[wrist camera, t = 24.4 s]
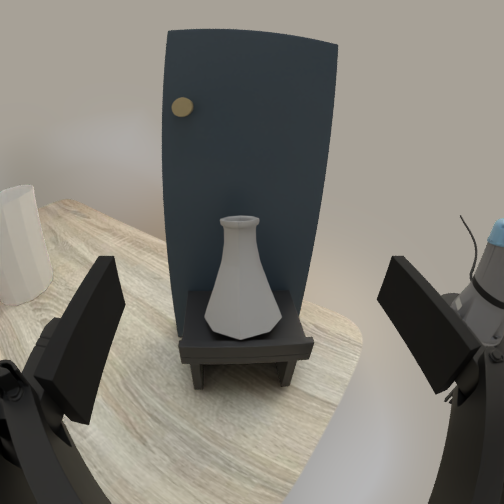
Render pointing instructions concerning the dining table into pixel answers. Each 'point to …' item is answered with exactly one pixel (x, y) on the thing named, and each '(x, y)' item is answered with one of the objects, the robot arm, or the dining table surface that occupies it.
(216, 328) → the flask
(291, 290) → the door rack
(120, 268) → the dining table surface
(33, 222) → the container
